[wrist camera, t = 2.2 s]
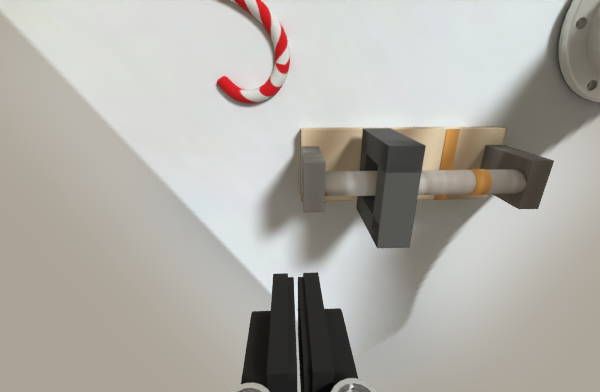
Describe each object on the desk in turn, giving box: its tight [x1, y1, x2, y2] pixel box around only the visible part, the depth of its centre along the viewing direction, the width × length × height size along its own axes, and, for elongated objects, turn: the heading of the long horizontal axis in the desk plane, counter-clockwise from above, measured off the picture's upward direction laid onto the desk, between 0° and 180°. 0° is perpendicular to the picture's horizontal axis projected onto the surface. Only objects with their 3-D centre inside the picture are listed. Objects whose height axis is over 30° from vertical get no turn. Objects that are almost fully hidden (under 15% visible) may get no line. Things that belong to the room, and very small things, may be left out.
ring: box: [357, 128, 426, 248], centre depth 23 cm, size 2×8×7 cm, turn 0°
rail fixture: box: [301, 127, 554, 212], centre depth 26 cm, size 19×7×7 cm, turn 90°
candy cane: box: [217, 0, 290, 103], centre depth 24 cm, size 8×1×15 cm
